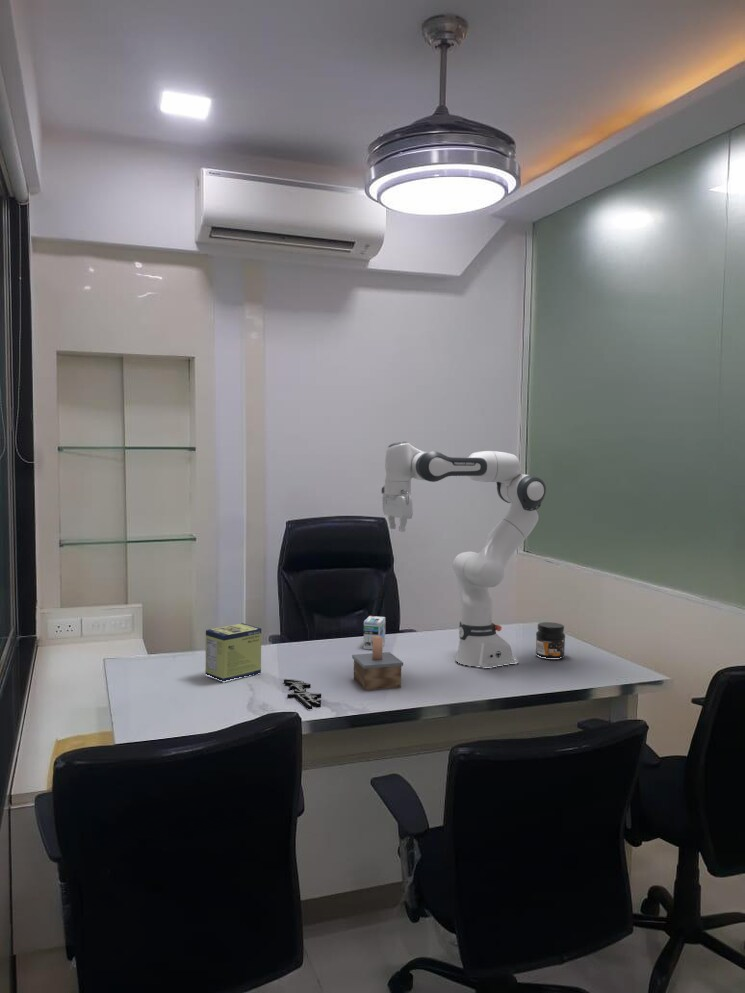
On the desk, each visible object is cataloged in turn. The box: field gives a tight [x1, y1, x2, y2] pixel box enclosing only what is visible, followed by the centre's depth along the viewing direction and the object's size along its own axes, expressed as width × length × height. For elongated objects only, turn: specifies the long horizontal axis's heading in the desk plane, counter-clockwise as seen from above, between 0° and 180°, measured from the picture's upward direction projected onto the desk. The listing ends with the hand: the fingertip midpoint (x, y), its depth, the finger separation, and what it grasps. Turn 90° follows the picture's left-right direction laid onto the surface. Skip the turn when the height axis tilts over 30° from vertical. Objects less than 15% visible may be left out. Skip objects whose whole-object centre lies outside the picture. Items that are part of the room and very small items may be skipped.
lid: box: [351, 636, 404, 669], centre depth 243 cm, size 13×13×10 cm
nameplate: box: [283, 678, 322, 710], centre depth 231 cm, size 27×2×10 cm
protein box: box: [204, 622, 262, 681], centre depth 250 cm, size 10×16×16 cm
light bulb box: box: [363, 615, 386, 651], centre depth 290 cm, size 11×7×11 cm, turn 168°
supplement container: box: [535, 621, 566, 658], centre depth 279 cm, size 10×10×12 cm
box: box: [353, 659, 402, 691], centre depth 244 cm, size 12×12×7 cm
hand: (397, 530), depth 258 cm, fingers open, 8 cm apart
